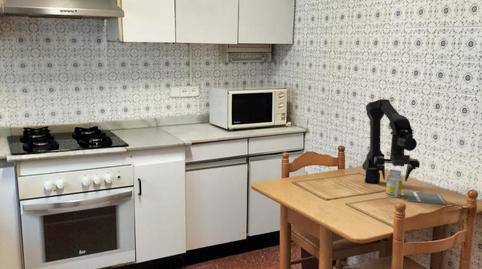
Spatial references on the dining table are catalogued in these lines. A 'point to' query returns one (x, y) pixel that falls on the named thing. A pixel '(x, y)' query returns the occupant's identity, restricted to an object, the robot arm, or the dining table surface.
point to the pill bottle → (394, 183)
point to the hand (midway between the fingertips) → (394, 180)
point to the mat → (424, 197)
